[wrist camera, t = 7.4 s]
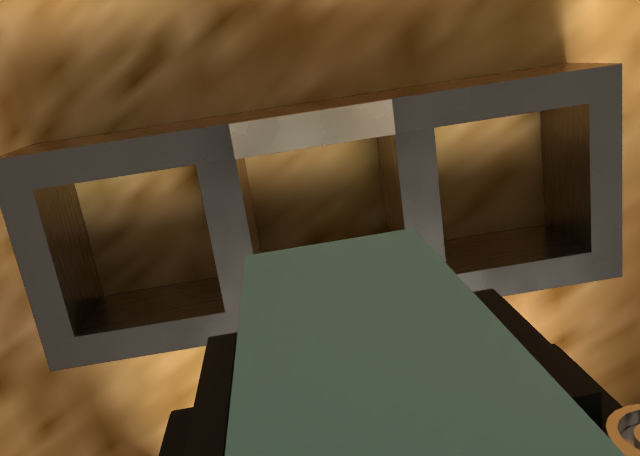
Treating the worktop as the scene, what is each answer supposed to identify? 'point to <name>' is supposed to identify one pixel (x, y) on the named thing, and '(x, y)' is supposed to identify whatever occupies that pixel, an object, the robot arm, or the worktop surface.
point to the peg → (387, 362)
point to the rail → (305, 132)
